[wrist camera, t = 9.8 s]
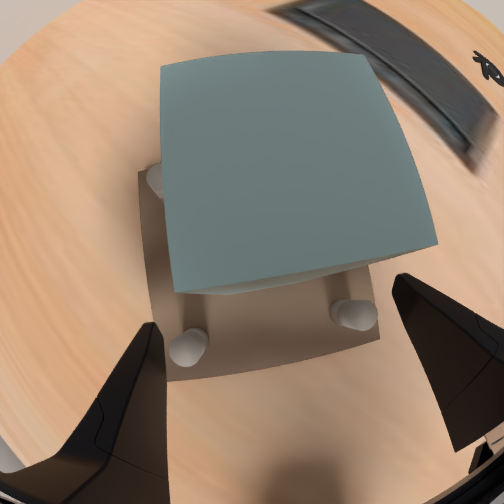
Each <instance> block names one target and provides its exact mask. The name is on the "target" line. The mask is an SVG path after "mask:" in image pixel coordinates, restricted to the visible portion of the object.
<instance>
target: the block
mask: <svg viewBox="0 0 504 504" xmlns="http://www.w3.org/2000/svg"><path fill="white" fill-rule="evenodd" d="M160 136H161V163H162V180H163V195H164V207H165V219H166V229H167V238H168V247H169V256H170V264H171V271H172V279H173V286H174V292H175V293H190V294H214V295H229V294H235V293H241V292H247V291H253V290H259V289H265V288H271V287H276V286H282V285H287V284H293V283H298V282H302V281H306V280H311V279H315V278H319V277H323V276H327V275H330V274H334V273H338V272H342V271H346V270H350V269H354V268H357V267H361V266H365V265H368V264H372V263H376V262H379V261H383V260H387V259H390V258H394V257H397V256H401V255H404V254H408V253H411V252H414V251H418V250H421V249H424V248H428V247H431V246H434V245H438V240H437V236H436V232H435V228H434V224H433V220H432V216H431V212H430V208H429V205H428V201H427V198H426V195H425V191H424V188H423V185H422V182H421V179H420V176H419V173H418V170H417V167H416V164H415V161H414V159H413V156H412V153H411V151H410V148H409V146H408V143H407V141H406V138H405V136H404V133H403V131H402V129H401V126H400V124H399V122H398V120H397V117H396V115H395V113H394V111H393V109H392V107H391V104H390V102H389V100H388V98H387V96H386V94H385V92H384V90H383V88H382V87H381V85H380V83H379V81H378V79H377V77H376V75H375V74H374V72H373V70H372V68H371V67H370V65H369V63H368V61H367V60H366V58H365V56H364V55H360V54H350V53H339V52H323V51H267V52H251V53H239V54H230V55H221V56H214V57H207V58H200V59H195V60H189V61H184V62H179V63H174V64H169V65H165V66H161V74H160Z"/></svg>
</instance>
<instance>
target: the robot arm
mask: <svg viewBox="0 0 504 504" xmlns="http://www.w3.org/2000/svg"><path fill="white" fill-rule="evenodd" d="M392 296H393V299H394V301H395V304H396V306H397V309H398V311H399V314H400V317H401V319H402V322H403V325H404V327H405V329H406V331H407V334H408V336H409V338H410V340H411V342H412V344H413V346H414V348H415V350H416V353H417V355H418V357H419V359H420V361H421V364H422V366H423V368H424V371H425V373H426V375H427V378H428V380H429V382H430V385H431V387H432V390H433V392H434V395H435V397H436V400H437V402H438V405H439V408H440V410H441V413H442V416H443V419H444V422H445V424H446V427H447V430H448V433H449V436H450V439H451V442H452V445H453V449H454V451H455V453H456V452H458V451H459V450H461V449H463V448H465V447H466V446H468V445H470V444H471V443H473V442H475V441H476V440H478V439H479V438H481V437H482V436H484V437H485V439H486V441H484V442H483V443H482V444H481V445H479V446H478V447H477V448H476V450H475V453H474V456H473V459H472V462H471V465H470V468H469V471H468V473H469V475H468V476H466V477H465V478H464V479H462V480H461V481H459V482H458V483H456V484H455V485H453V486H452V487H450V488H449V489H447V490H446V491H444V492H442V493H441V494H439V495H437V496H436V497H434V498H432V499H431V500H429V501H427V502H425V503H424V504H504V329H502V328H500V327H499V326H497V325H495V324H493V323H491V322H490V321H488V320H486V319H485V318H483V317H481V316H480V315H478V314H477V313H474V312H473V311H472V310H470V309H468V308H467V307H465V306H463V305H462V304H460V303H458V302H457V301H455V300H453V299H452V298H450V297H448V296H447V295H445V294H443V293H441V292H440V291H438V290H436V289H434V288H433V287H431V286H429V285H427V284H426V283H424V282H422V281H420V280H419V279H417V278H415V277H413V276H411V275H410V274H408V273H401V274H398V275H397V276H396V277H395V281H394V284H393V288H392ZM0 491H2V492H3V493H5V494H7V495H9V496H11V497H12V498H14V499H16V500H19V501H20V502H21V503H18V502H15V501H12V500H10V499H7V498H5V497H2V496H0V504H170V493H169V481H168V461H167V373H166V361H165V348H164V338H163V335H162V333H161V332H160V330H159V328H158V326H157V324H156V323H155V322H146V323H144V324H143V325H142V326H141V328H140V329H139V331H138V332H137V334H136V335H135V337H134V338H133V340H132V341H131V343H130V344H129V346H128V347H127V349H126V351H125V352H124V354H123V355H122V357H121V358H120V360H119V361H118V363H117V365H116V366H115V368H114V369H113V371H112V372H111V374H110V376H109V377H108V379H107V380H106V382H105V384H104V385H103V387H102V388H101V390H100V392H99V393H98V395H97V397H96V398H95V400H94V401H93V403H92V405H91V406H90V408H89V410H88V411H87V413H86V414H85V416H84V417H83V419H82V420H81V421H80V423H79V424H78V426H77V427H76V428H75V430H74V431H73V433H72V434H71V435H70V437H69V438H68V439H67V441H66V442H65V444H64V445H63V446H62V448H61V449H60V450H59V451H58V452H57V453H56V454H55V455H53V456H52V457H50V458H48V459H46V460H44V461H41V462H39V463H36V464H34V465H32V466H29V467H27V468H24V469H22V470H19V471H16V472H13V473H3V472H1V471H0Z"/></svg>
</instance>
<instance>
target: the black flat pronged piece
mask: <svg viewBox="0 0 504 504" xmlns="http://www.w3.org/2000/svg"><path fill="white" fill-rule="evenodd" d="M473 52H474V53H475V54H476V55H477V56H479V57H473V60H474V61H475V62H479V63H481V66H482V72H483V76H484V77H485V78H486V79H487V80H489V75H490V76H491V77H492V79H493V80H494V81H495V82H497V83H498V84H499V85H501V86H503V87H504V77H503V75H502V74H501V72H500V71H499V70H498V69H497V68H496V67H495V66H494V65H493V64H492V63H491V62H490V61H489V60H488V59H486V58H485V57H484V56H482V55H481V54H479V53H478V52H477V51H475V50H474V51H473Z"/></svg>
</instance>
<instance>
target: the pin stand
mask: <svg viewBox="0 0 504 504" xmlns="http://www.w3.org/2000/svg"><path fill="white" fill-rule="evenodd" d="M138 185H139V204H140V218H141V230H142V241H143V251H144V259H145V268H146V275H147V283H148V289H149V296H150V302H151V309H152V314H153V320H154V322H155V323H156V324H157V326H158V328H159V330H160V332H161V333H162V335H163V338H164V348H165V361H166V373H167V382H171V381H182V380H191V379H200V378H208V377H216V376H223V375H230V374H236V373H243V372H248V371H254V370H260V369H265V368H270V367H275V366H280V365H285V364H290V363H294V362H299V361H303V360H307V359H311V358H315V357H319V356H323V355H327V354H331V353H335V352H338V351H342V350H346V349H349V348H352V347H356V346H359V345H363V344H366V343H369V342H372V341H375V340H378V339H380V334H379V327H378V320H377V316H378V313H377V308H376V306H375V300H374V294H373V289H372V283H371V278H370V273H369V268H368V265H365V266H361V267H357V268H354V269H350V270H346V271H342V272H338V273H334V274H330V275H327V276H323V277H319V278H315V279H311V280H306V281H302V282H298V283H293V284H287V285H282V286H276V287H271V288H265V289H259V290H253V291H247V292H241V293H235V294H229V295H214V294H190V293H175V292H174V286H173V279H172V271H171V264H170V256H169V247H168V238H167V229H166V219H165V207H164V195H163V180H162V163H161V162H159V163H156V164H154V165H153V166H152V167H151V168H150V169H148V170H144V171H140V172H138Z"/></svg>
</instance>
